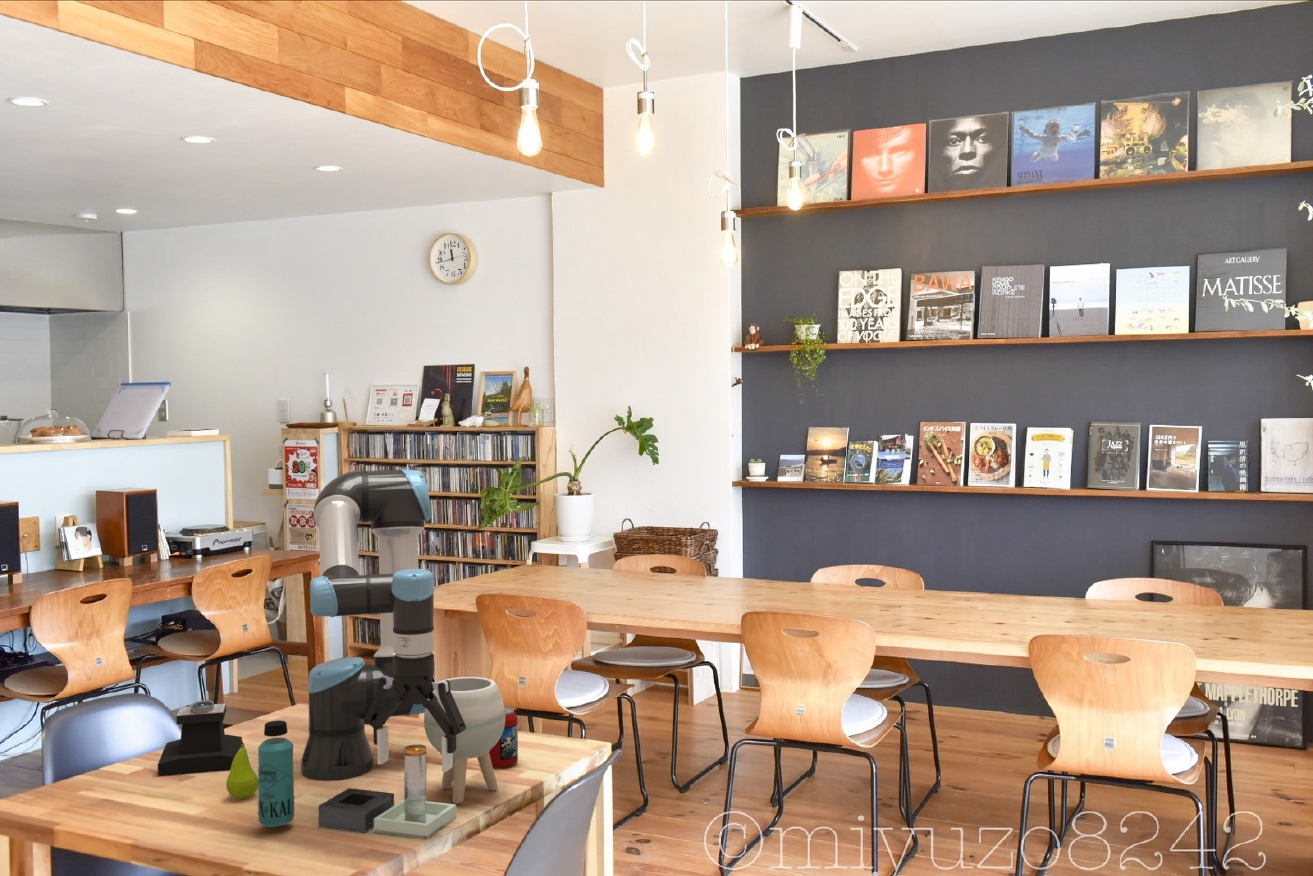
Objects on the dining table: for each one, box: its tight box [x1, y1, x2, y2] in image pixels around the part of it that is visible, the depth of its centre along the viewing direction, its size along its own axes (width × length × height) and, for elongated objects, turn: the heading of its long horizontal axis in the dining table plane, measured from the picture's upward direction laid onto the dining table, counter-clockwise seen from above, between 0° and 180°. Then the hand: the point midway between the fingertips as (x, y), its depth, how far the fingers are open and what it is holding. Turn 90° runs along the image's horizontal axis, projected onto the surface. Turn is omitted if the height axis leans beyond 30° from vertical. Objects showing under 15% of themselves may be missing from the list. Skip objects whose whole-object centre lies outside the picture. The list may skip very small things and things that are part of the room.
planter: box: [423, 676, 505, 805], centre depth 225 cm, size 16×16×22 cm
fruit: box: [226, 738, 258, 801], centre depth 224 cm, size 6×6×12 cm
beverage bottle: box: [257, 719, 295, 828], centre depth 207 cm, size 6×7×20 cm
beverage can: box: [489, 706, 519, 769], centre depth 244 cm, size 7×7×12 cm
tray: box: [373, 799, 457, 841], centre depth 209 cm, size 11×11×3 cm
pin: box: [403, 744, 427, 823], centre depth 208 cm, size 4×4×14 cm
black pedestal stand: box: [157, 699, 243, 777], centre depth 246 cm, size 16×14×15 cm
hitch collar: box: [318, 787, 395, 834], centre depth 211 cm, size 10×10×4 cm
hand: (414, 766), depth 209 cm, fingers open, 13 cm apart
